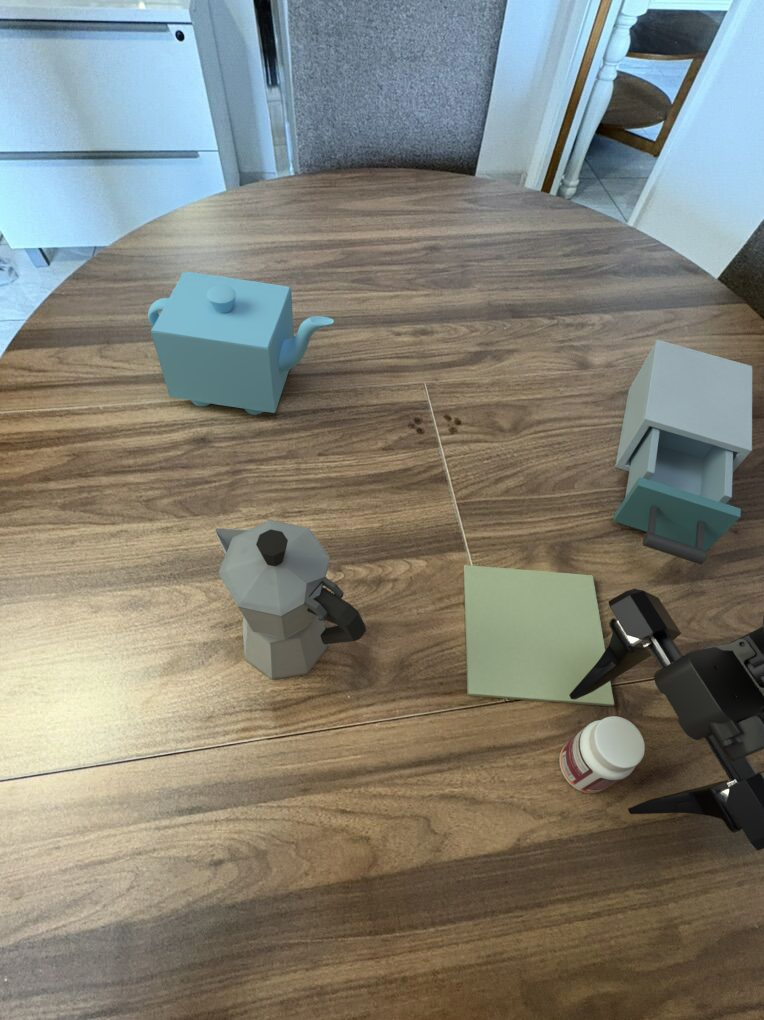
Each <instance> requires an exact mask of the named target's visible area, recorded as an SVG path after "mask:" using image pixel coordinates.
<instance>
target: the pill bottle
mask: <svg viewBox="0 0 764 1020" xmlns="http://www.w3.org/2000/svg"><path fill="white" fill-rule="evenodd" d="M645 751H646V744H645V740H644V737H643V735H642V733H641V731H640V730H639V728H638V727H637V726H636V725H635V724H634V723H632V722H631V721H630V720H628V719H626V718H624V717H621V716H615V715H613V716H612V715H611V716H607V717H604V718H602V719H599V720H594V721H591V722H590V723H588V724H587V725H586V726H585V727H584V728H582V729H581V730H580V731H579V732H577V733H576V734H575V735H574V736H573V737H572V738H570V739H569V740H568V741H566V742H565V744H564V745H563V747H562V749H561V750H560V753H559V762H558V763H559V768H560V771H561V774H562V776H563V778H564V779H565V780H566V782H567V783H568V784H569V785H570V786H571V787H573V788H574V789H576V790H577V791H579V792H581V793H585V794H595V793H599V792H602V791H603V790H606V789H607V788H609V787H610V786H613V785H614V784H616V783H618V782H621V780H624V779H626V778H627V777H629V776H630V775H631V774H632V773H633V771H634V770H635V768H636V766H638V765H639V764H640V763H641V761H642V760H643V758H644V755H645Z"/></svg>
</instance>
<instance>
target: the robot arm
mask: <svg viewBox="0 0 764 1020" xmlns="http://www.w3.org/2000/svg"><path fill="white" fill-rule="evenodd" d="M607 602H608V605H609V609H610V610H611V611H612V613H613V615H614V617H615V618H614V617H613V618H611V619H610V620H609V621H608V626H609V627H610V629H611V632H612V633H611V637H610V640H609V643H608V646H606V648H605V652H604V653H603V655H602V657H601V658H600V659H599V661H598V662H597V663H596V664H595V666H594V667H593V668H592V669H591V670H590V671H589V673H588V674H587V675H586V676H585V677H584V678H583V679H582V681H581V682H580V683H579V684H578V685H577V686H576V688H575V689H574V690H573V691H572V692H571V693H570V695H569V696H570V698H571V699H578V698H580V697H582V696H585V695H587V694H589V693H591V692H593V691H595V690H596V689H598V688H600V687H601V686H603V685H605V684H606V683H608V682H609V681H610V682H611V681H613V680H614V679H617V677H619V676H621V675H622V674H624V673H626V672H628V671H629V670H631V669H632V668H634V667H635V666H637V665H639V664H640V663H642V662H643V661H645V660H647V659H648V658H650V657H651V656H652V655H653V656H654V658H655V659H656V661H657V663H658V665H659V666H660V669H658V670H657V671H655V673H654V674H653V681H654V684H655V686H656V688H657V690H658V691H659V692H660V693H661V694H663V695H664V696H665V698H666V699H667V701H668V703H669V704H670V706H671V708H672V709H673V711H674V712H675V715H676V716H677V723H678V724H679V726H680V728H681V729H682V731H683V732H684V733H685V735H687V736H688V737H689V738H690V739H692V740H694V741H699V740H703V739H704V740H705V741H706V743H707V744H708V747H709V748H710V750H711V751H712V754H713V755H714V757H716V760H717V761H718V762H719V764H720V766H721V768H722V769H723V771H724V773H725V774H726V776H727V778H728V779H729V780H730V781H729V780H728V779H726V780H722V781H718V782H713V783H709V784H706V785H702V786H698V787H695V788H689V789H687V790H682V791H679V792H674V793H671V794H666V795H662V796H659V797H654V798H651V799H648V800H646V801H643V802H640V803H638V804H636V805H633V806H631V807H628V808H627V811H628V813H629V814H630V815H649V814H650V815H652V814H655V815H656V814H691V815H699V816H707V817H712V818H716V819H720V820H722V821H723V823H724V824H725V826H726V828H727V829H728V830H729V831H730V832H731V833H732V834H733V833H734V834H735V833H738V832H741V831H743V833H744V834H745V836H746V838H747V840H748V841H749V843H750V844H751V845H752V846H753V847H754V849H755V850H756V851H761V850H764V770H761V771H757V769H756V768H755V766H754V765H753V763H752V761H751V760H750V758H749V757H748V756H750V755H753V754H755V753H757V752H760V751H763V750H764V615H763V617H762V626H761V627H758V628H757V629H755V630H753V631H751V632H749V633H747V634H745V635H742V636H741V637H738V638H737V639H734V640H733V641H731V642H729V643H724V644H723V643H722V644H716V645H710V646H709V645H708V646H704V648H701V649H695V650H691V651H689V652H688V653H685V654H684V655H683V653H682V651H681V650H680V649H679V647H678V646H677V643H676V642H675V641H674V640H676V639H677V638H678V637H679V636H680V635H682V631H681V630H680V629H679V627H678V625H677V624H676V622H675V621H674V620H673V618H672V617H671V615H670V613H669V611H668V609H666V607H665V605H664V604H663V602H662V601H661V599H660V598H659V597H658V596H655V595H654V594H651V593H649V592H648V591H645V590H643V589H638V588H632V589H629V590H625V591H624V592H622V593H620V594H619V595H617V596H615V597H614V598H612V599H610V600H608V601H607ZM650 651H651V652H650Z"/></svg>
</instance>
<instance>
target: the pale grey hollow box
mask: <svg viewBox="0 0 764 1020" xmlns="http://www.w3.org/2000/svg"><path fill="white" fill-rule="evenodd" d="M626 397H627V398H626V403H625V408H624V414H623V419H622V426H621V432H620V438H619V444H618V448H617V454H616V460H615V465H614V467H615V468H616V469H619V470H622V471H625V472H628V473H629V471H630V464H631V458H632V453H633V451H634V450H635V448H636V447H637V445H638V444H639V442H640V440H641V439H642V437H643V436H644V434H645V432H646V431H647V429H648V428H649V426H651V427H655V428H658V429H661V430H665V431H668V432H671V433H675V434H678V435H681V436H685V437H688V438H691V439H695V440H698V441H701V442H705V443H708V444H711V445H715V446H718V447H721V448H724V449H728V450H731V451H733V473H734V472H735V471H736V470H737V469H738V467H740V465H742V463H743V462H744V460H746V458H747V457H748V456H749V455H750V453H752V451H753V366H752V365H750V364H747V363H744V362H743V363H742V362H739V361H735V360H732V359H728V358H724V357H722V356H717V355H714V354H710V353H707V352H703V351H700V350H696V349H693V348H689V347H685V346H682V345H678V344H675V343H672V342H668V341H664V340H661V339H656V340H655V342H654V343H653V346H652V347H651V349H650V351H649V353H648V355H647V356H646V359H644V362H643V364H642V366H641V367H640V369H639V371H638V373H637V374H636V376H635V378H634V380H633V381H632V383H631V384H630V386H629V389H628V392H627V396H626Z"/></svg>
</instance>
